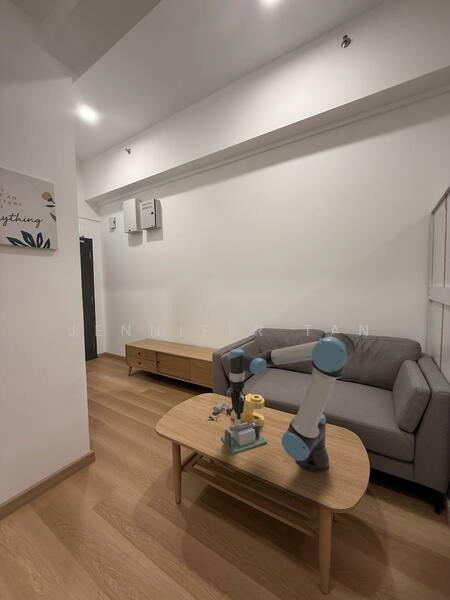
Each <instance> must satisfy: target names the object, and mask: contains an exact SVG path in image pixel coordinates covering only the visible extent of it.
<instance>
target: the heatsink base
mask: <svg viewBox="0 0 450 600" xmlns="http://www.w3.org/2000/svg"><path fill="white" fill-rule="evenodd" d="M246 423H248V422H246ZM246 423H241V424H246ZM253 423H254V424H255V425H256V427H250V428H245V429H240V430H235V431H231V432H230V431H229V430H228V429H227V428H226V429H224V435H221V436H220V439H221V440H222V442H223V443H224V444H225V446H226V447H227V449H228V450H229V451H230V453H231V454H232V455H236V454H239V453H242V452H244V451H248V450H251V449H254V448H257V447H260V446H263V445H266V444H268V440H266V438H265V437H263V436H262V435H261V434H260V427H259V425H258V424H257V423H256V422H255V421H253ZM241 424H239V425H241Z"/></svg>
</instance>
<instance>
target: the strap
mask: <svg viewBox="0 0 450 600" xmlns="http://www.w3.org/2000/svg"><path fill="white" fill-rule="evenodd" d="M250 427H251V428H252V427H256V425H255V424H254V423H253V422H252V421H251V423H246V424H243V423H241V425H231V426H229V427H228V428H229V430H230V431H231V432H232V431H235V430H240V429H245V428H250Z"/></svg>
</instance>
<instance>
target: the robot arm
mask: <svg viewBox="0 0 450 600" xmlns="http://www.w3.org/2000/svg"><path fill="white" fill-rule="evenodd" d="M356 348H357V347H356V344H355V342H354V339H353V338H351V337H350V336H349V335H348V334H346V333H341V332H340V333H339V332H338V333H337V332H336V333H332V334H330V335H329V336H324V337H320V339H318V340H317V341H313V342H311V341H310V342H307V343H302V344H296V345H292V346H287V347H282V348H277V349H269V350H266V351H264V352H262V353H258V354H256V355H253V356H251V355H248V354H247V355H246V354H245V351H244V350H243V349H242V348H233V349H231V350H230V351H229V358H228V359H229V387H230V388H229V392H230V400H231V406H232V408H234V411H235V419H234V426H236V425H239V424H242V422H241V413H243V409H244V401H245V396H244V395H243V393H244V392H243V390H244V388H245V387H246V386H245V372H247V373H250V374H253V375H260V376H261V375H263V374H265V372H266V371H267V368H268V367H271V366H277V365H284V364H293V363H297V362H304V361H311V364H310V365H311V368H312V369H313V370H312V373H311V376H310V378H309V380H308V383H307V386H306V390H305V392H304V394H303V398H302V400H301V403H300V407H299V409H298V411H297V414H296V415H294V416H293V417H292V418H291V419H290V423H289V426H288V427H287V430H286V431H285V432H284V433H283V434H282V436H281V445H282V447H283V449H284V452H285V453H286V454H287V455H288V456H289V457H290V458H291V459H294V460H295V461H296V463H297V464H298V465H299V466H300V467H301V468H304V469H305V470H307V471H311V472H323V471H325V470H327V469H328V468H329V466H330V458H329V455H328V451H327V448H326V432H327V431H326V430H327V420H326V419H327V418H326V416H325V414H324V413H323V412H324V410H325V407H326V405H327V404H328V403H327V402H328V400H329V397H330V395H331V393H332V390H333V387H334V384H335V382H336V380H337V379H340V378H342V377H343V374H344V372H345V369H346V366H347V363H348V362H349V361H350V360H351V359H352V358H354V356H355V355H356V354H355V353H356Z"/></svg>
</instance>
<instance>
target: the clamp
mask: <svg viewBox="0 0 450 600" xmlns="http://www.w3.org/2000/svg"><path fill="white" fill-rule="evenodd" d="M244 397H245V401H244V409H243V413H241V424H243V423H246V422H248V423H251V421H252V422H253V421H255V422H256V423H257V424H258V425H259V428H261V427H263V426H264V425H265V416H264V415H262V414H260V413H257V412H255V411H254V410H260V409H263V408H264V407H265V399H264V397H263V396H262V395H260V394H254V393H247V394H246V395H245V396H244ZM230 418H231V419H232V420H235V411H234V409H233V411H232V412H231V416H230Z"/></svg>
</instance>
